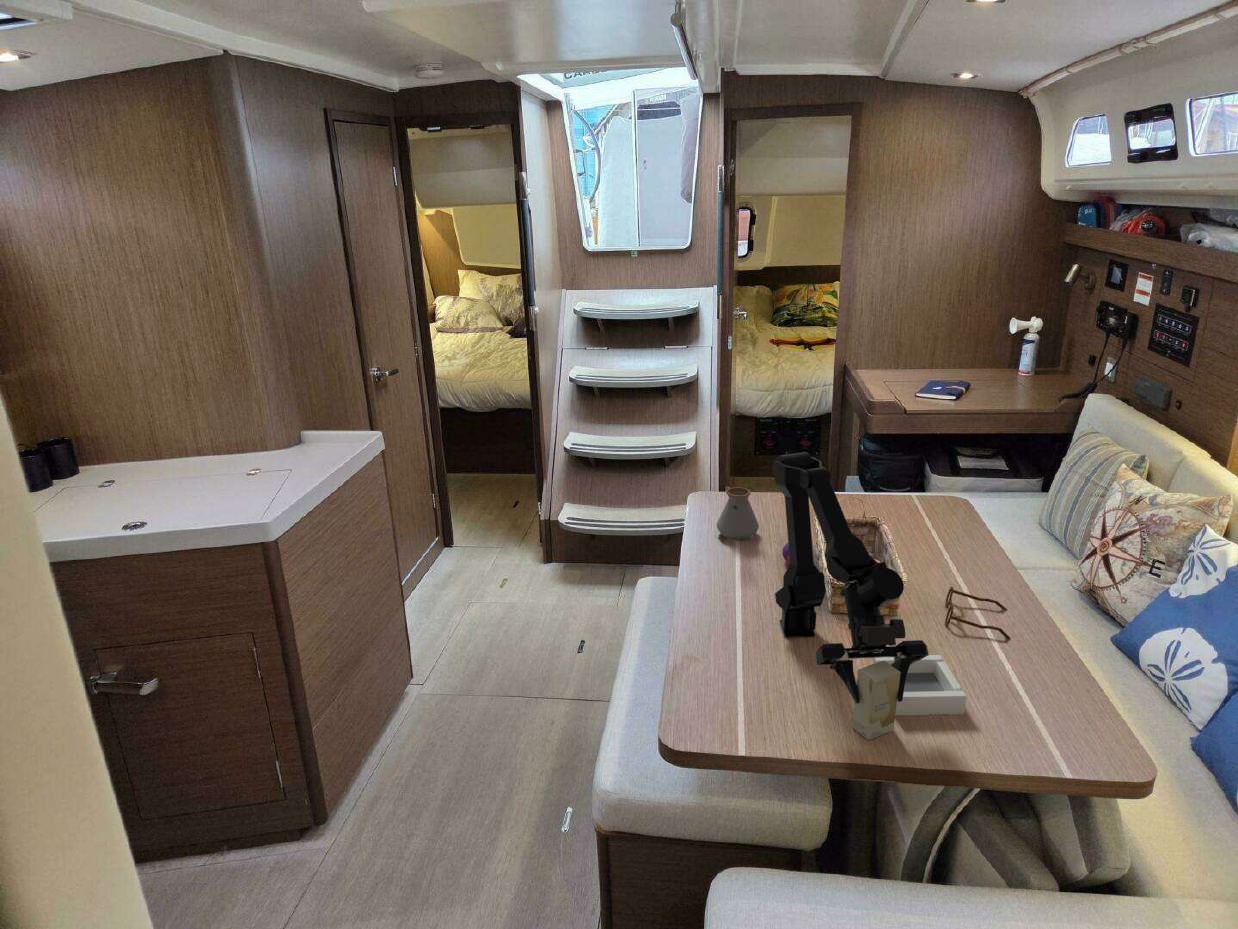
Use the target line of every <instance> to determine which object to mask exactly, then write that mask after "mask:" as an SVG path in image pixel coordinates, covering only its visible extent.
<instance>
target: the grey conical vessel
mask: <svg viewBox="0 0 1238 929" xmlns="http://www.w3.org/2000/svg"><path fill="white" fill-rule="evenodd" d="M725 493H726V495H727V497H728V500H727V502H726V504H725V505H724V508H723V510H722V512H721V513H720V516H719V517H718V520H717V522H716V528H717V530H718V531H719V533H720V534H721V535H722V536H723V537H724V538H726V539H727V540H731V541H736V542H737V541H739V542H741V541H746V540H749V539H751V538H752V537H753V536H754V535H755V534H756V533H757V532H758V530H759V527H760V525H759V522H758V519H757V517H756V515H755V512H754V511H753V507H752V505H751V503H750V501H749V496H750V495H751V490H750V489H748V488H746V487H739V486H738V487H737V486H736V487H734V486H733V487H731V488H728V489H726V490H725Z"/></svg>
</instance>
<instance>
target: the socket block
mask: <svg viewBox="0 0 1238 929" xmlns="http://www.w3.org/2000/svg"><path fill="white" fill-rule="evenodd" d="M881 661H885V662H887V663H888V664H890V665H891V664H893V663H894V657H881V658H872V664H875V663H878V662H881ZM966 702H967V694H966V693H965V692H964V690H962V686H961V685H960V684H959V682H958V680H957V679H956V677H955V676H954V675H953V673H952V671H951V669H950V668H949V667H948V665H947V663H946V662H945V661H944V659H943V657H942V656H941V655H940V654H935V655H934V654H929V655H928V656H926V657H925V658H923V659H921V660H919V661H916V662H914V663H913V664H911V665H910V667H909V669H908V672H907V676H906V680H905V687H904V693H903V700H902V701H901V702H898V699H897V706H896V713H895V716H936V715H937V714H939V716H941V715H940V714H949V715H964V714H965V709H966ZM929 714H931V715H929ZM935 714H936V715H935ZM937 716H938V715H937Z"/></svg>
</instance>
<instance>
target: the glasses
mask: <svg viewBox="0 0 1238 929" xmlns="http://www.w3.org/2000/svg"><path fill="white" fill-rule="evenodd" d="M953 594H956V595H959V596H962V597H965V598H969V599H972V600H974V601H975V600H976V601H978V602H987V603H988V602H989V603H992V604H995V605H996V606H998V607H999V608H1000V609H1001V610H1004V611H1008V608H1007V607H1005V606H1004V605H1003V604H1001V602H999V601H997V600H995V599H990V598H985V597H978V596H976V595H972V594H968V593H965V592H962V591H959V590H956V589H954V587H953V586H950V588H949V590H948V592H947V595H946V598H945V602H944V603H945V604H944V607H945V608H948V611H947V613H946V615H945V616H946V617H945V621H944V626H945V627H948V626H949V624H950V622H951V620H953V621H957V622H960V623H962V624H966V625H969V626H972V627H975V628H977V629H983V630H984V629H985V630H994V631H999V633H1000V634H1001V635H1003V637H1005V639H1008V640H1011V639H1012V637H1010V636H1009V635H1008V633H1006V632H1005V631H1004V630H1003V629H1002V628H1001V627H998V626H994V625H993V626H992V625H982V624H979V623H976V622H973V621H969V620H967V619H964V618H959V617H957V616H954V615H953V613H954V605H953V599H952V598H953Z"/></svg>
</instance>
